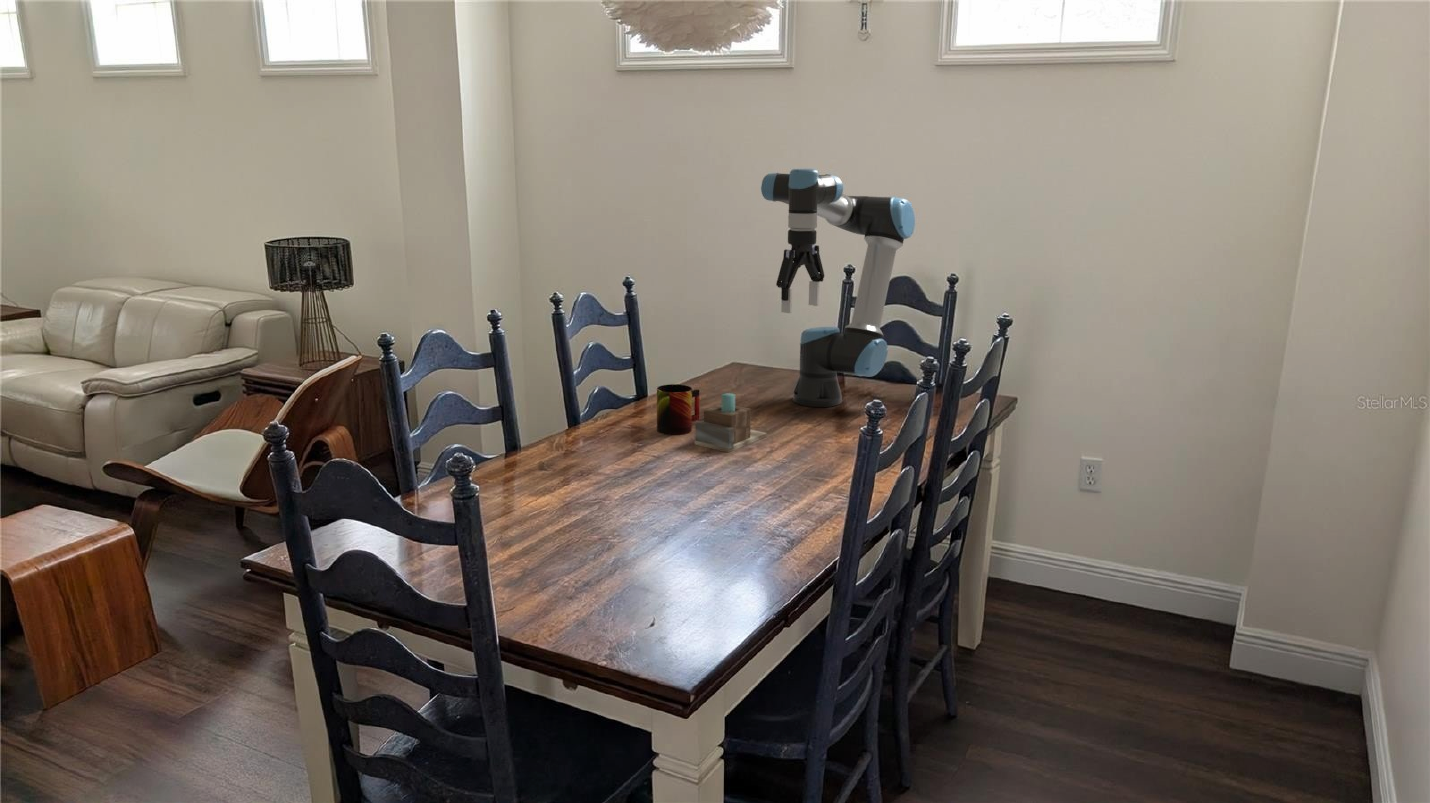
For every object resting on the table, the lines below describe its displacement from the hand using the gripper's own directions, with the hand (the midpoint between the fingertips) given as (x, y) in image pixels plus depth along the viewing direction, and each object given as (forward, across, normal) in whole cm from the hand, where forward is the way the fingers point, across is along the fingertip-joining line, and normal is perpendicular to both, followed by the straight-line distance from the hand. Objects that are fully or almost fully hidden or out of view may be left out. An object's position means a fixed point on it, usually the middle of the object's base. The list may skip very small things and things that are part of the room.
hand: (800, 309), depth 269 cm
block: (+33, +20, -9) cm, 40 cm away
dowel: (+33, +20, -9) cm, 40 cm away
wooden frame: (+34, +18, -10) cm, 40 cm away
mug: (+34, +18, -28) cm, 48 cm away
